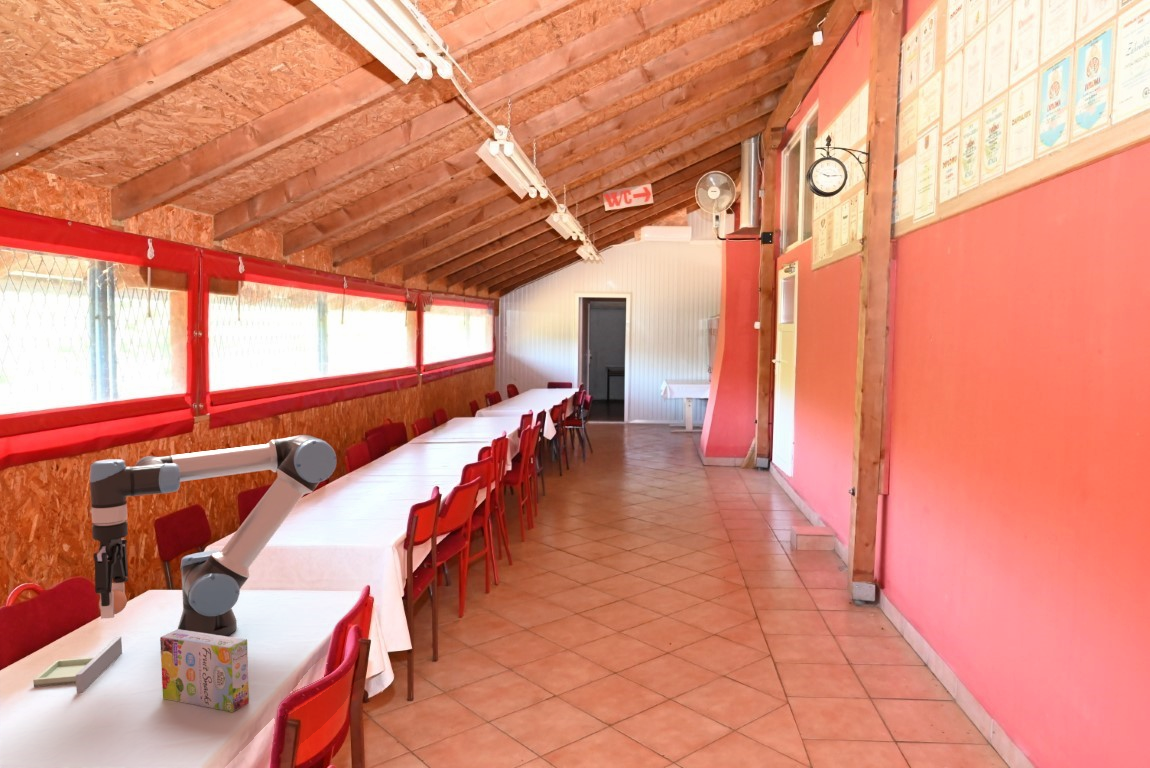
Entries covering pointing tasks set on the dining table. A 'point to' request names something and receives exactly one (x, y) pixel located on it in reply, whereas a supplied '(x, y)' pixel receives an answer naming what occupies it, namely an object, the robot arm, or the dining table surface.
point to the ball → (118, 601)
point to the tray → (61, 672)
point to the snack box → (205, 669)
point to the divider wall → (98, 665)
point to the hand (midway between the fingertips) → (113, 612)
